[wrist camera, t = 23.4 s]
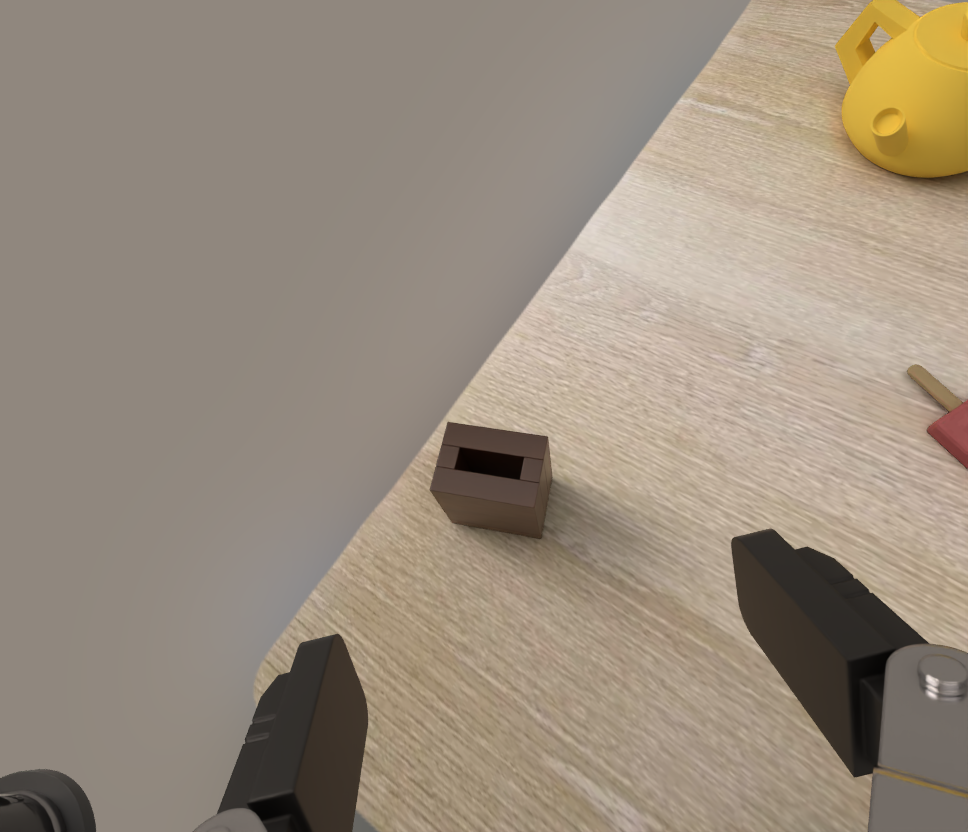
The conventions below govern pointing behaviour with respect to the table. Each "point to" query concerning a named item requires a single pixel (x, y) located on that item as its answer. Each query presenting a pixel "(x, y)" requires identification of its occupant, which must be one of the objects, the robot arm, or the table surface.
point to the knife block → (493, 479)
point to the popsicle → (959, 429)
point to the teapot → (908, 89)
